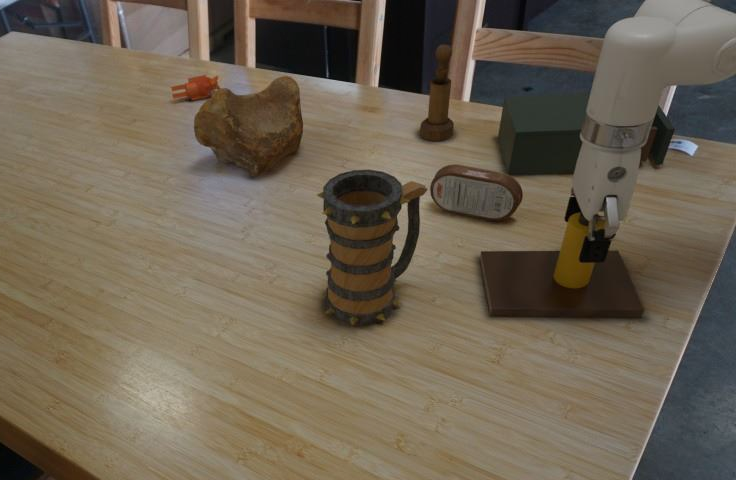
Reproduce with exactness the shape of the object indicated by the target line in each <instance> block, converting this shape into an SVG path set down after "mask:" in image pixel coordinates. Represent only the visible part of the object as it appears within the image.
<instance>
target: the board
mask: <svg viewBox="0 0 736 480" xmlns="http://www.w3.org/2000/svg"><path fill="white" fill-rule="evenodd" d="M559 253H560V250H490V251H489V250H481V251H480V255H479V261H480V267H481V273H482V279H483V283H484V288H485V294H486V301H487V305H488V310H489V316H490V317H539V318H540V317H542V318H543V317H545V318H547V317H549V318H551V317H553V318H617V319H618V318H621V319H623V318H625V319H627V318H628V319H630V318H631V319H632V318H634V319H642V316H643V314H644V312H645V309H644V306H643V304H642V302H641V299H640V297H639V295H638V293H637V290H636V287H635V285H634V283H633V281H632V279H631V276H630V274H629V272H628V269H627V267H626V265H625V262H624V260H623V258H622V255H621V254H620V251H619V250H618V249H617V250H613V249H612V250H610V249H609V250H608V253H607V256H606V260H605V261H604V262H602V263H595V264H594V267H593V271H592V274H591V277H590V280H589V283H588V284H587V285H586V286H584V287H582V288H567V287H564V286H561V285H560V284H558V283H557V282H556V281H555V280H554V272H555V268H556V265H557V261H558V257H559Z"/></svg>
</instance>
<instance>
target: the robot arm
mask: <svg viewBox="0 0 736 480" xmlns="http://www.w3.org/2000/svg"><path fill="white" fill-rule="evenodd" d="M711 1H712V0H644V1H643V3H641V5H640V7H639V8H638V10H637V11H636V12H635V14H634V16H632V17H626V18H622V19H620V20H618V21H617V22H614V23H613V24H612V25H611V26H610V27H609V28H608V30H607V31H606V33H605V35H604V39H603V42H602V45H601V49H600V54H599V58H598V61H597V65H596V70H595V74H594V77H593V81H592V85H591V89H590V93H589V101H588V105H587V110H586V113H585V117H584V121H583V125H582V129H581V133H580V138H581V141H582V142H583V143H582V146H581V149H580V153H579V156H578V159H577V163H576V167H575V171H574V173H573V175H572V176H573V177H572V183H571V184H572V187H571V189H570V196H569V199H568V201H567V206H566V210H565V214H564V222H565V223H568V220H569V217H570V216H572V215H573V214H576V213H580V212H582V214H583V216H584V217H585V218H586V219H587V220H588V221H589V231H588V236H585V238H584V242H583V245H582V249H581V252H580V256H579V261H580V262H581V263H602V262H604V261H605V260H606V256H607V253H608V250H610V246H611V244H612V241H613V240H614V238H615V237H616V235H617V232H618V231H619V230H620V225H621V224H620V222H623V221H624V220H625V219H626V218H627V215H628V212H629V209H630V206H631V202H632V198H633V194H634V190H635V187H636V184H637V183H636V182H637V179H638V174H639V169H640V163H641V162H640V157H641V147H643V146H644V145H645V144H646V142H647V139H648V136H649V133H650V130H651V127H652V124H653V121H654V118H655V114H656V111H657V108H658V105H659V106H660V101H661V98H662V95H663V92H664V90H665V89H666V88H668V87H674V86H703V85H704V86H705V85H710V84H715V83H719V82H722V81H725V80H727V79H729V78H731V77H734V75H736V13H735V12H732V11H729V10H727V9H724V8H721V7H719V6H717V5H715V4H712V3H710V2H711ZM600 212H601V213H603V215H600V216H595V215H596V214H598V213H600ZM596 221H605V224H604V226H603V229H599V230H597V231H596Z"/></svg>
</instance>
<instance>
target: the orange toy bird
mask: <svg viewBox="0 0 736 480" xmlns="http://www.w3.org/2000/svg"><path fill="white" fill-rule="evenodd" d="M187 79H188V80H187V81H188V82H185V83H184V84H180V85H174V86H170V87H171V88H170V89H171V92H177V91H180V92H177V93H172V99H179V98H184V97H186V98H188V99H189V98H190V99H191V101H195V100H200V99H204V98H209V97H210V94H212V93H213V92H215V91H216V90H218V89H220V88H221V87H220V85H219V83H218V79H219V75H215V76H211V77H208V76H207V74H202V75H197V76H192V77H188V78H187ZM181 90H185V91H182V92H181Z"/></svg>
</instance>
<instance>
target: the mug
mask: <svg viewBox="0 0 736 480" xmlns="http://www.w3.org/2000/svg"><path fill="white" fill-rule="evenodd" d="M428 190H429V188H428V187H426V185H425V184H422V183H419V182H416V181H412V180H411V181H408V182H406V183H404V184H402V182H401V181H399V180H398V179H397V177H396V176H395V175H391V174H389V173H387V172H385V171H380V170H375V169H353V170H349V171H345V172H342V173H341V172H340V173H339V174H337V175H335V176H333V177H331V178H329V179H328V181H327V182H326V183H325V184H324V185H323V187H322V192H319V193H316V194H315V196H317V197H318V198H321V199H323V204H322V205H323V206H322V207H323V208H322V209H323V212H322V213H321V214H322V215H325V216H326V218H325V220H324V225H325V227H326V231H327V234H328V236H329V237H328V238H329V241H330V243H329V245H328V252H327V253H326V255H325V258H326V259H327V260H329V262H330V268H329V270H327V271H326V272H325V275H326V276H327V283H326V284H327V287H326V289H325V291H323V292H320V293H319V294H320V295H321V296H323V297H325V308H326V311H325V312H324V314H329V315H330V316H331V317H333V318H334V319H336V320H337V321H339V322H340V323H344V324H348V325H351V326H370V325H373V324H377V323H381V322H382V321H384V322H386V318H388V317H389V316H391V314H392V312H393V310H394V308H395V306H396V305H400V304H403V302H402V301H399V299H398V300H397V299H396V291H395V287H394V285H395V283H396V282H397V279H398V278H399V277H400V276H401V275H403V274H404V273H405V272H406V270H408V268H409V266H410V264H411V261H412V259H413V257H414V254H415V251H416V248H417V244H418V240H419V238H420V237H419V236H420V230H421V229H420V227H421V217H420V216H421V215H420V202H421V197H422V196H424V195H425V194H426V193H427V191H428ZM403 204H406V205H407V206H406V207H407V220H408V221H407V234H406V237H405V242H404V245H403V246H402V247H403V248H402V250H401V253H400V255H399V258H398V260H397V261H396V263H395V264H393V260H394V253H395V250H396V249H397V247H396V244H394V235H395V234H396V232H398V231H400V226H399V222H398V221H399V219H398V215H399V213H400V212H401V210H402V207H403ZM392 264H393V265H392Z"/></svg>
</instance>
